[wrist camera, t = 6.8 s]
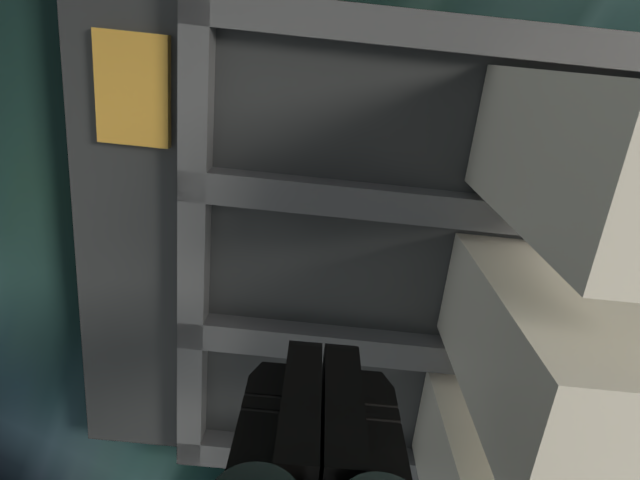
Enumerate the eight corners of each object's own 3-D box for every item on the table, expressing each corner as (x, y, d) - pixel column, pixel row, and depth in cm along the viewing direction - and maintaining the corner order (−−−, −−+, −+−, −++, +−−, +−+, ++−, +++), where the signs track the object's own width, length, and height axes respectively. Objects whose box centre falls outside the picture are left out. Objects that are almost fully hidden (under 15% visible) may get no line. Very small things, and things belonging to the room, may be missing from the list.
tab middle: (587, 246, 16) (799, 409, 8) (560, 338, 17) (727, 550, 10) (455, 232, 15) (558, 385, 8) (437, 326, 17) (514, 530, 10)
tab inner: (635, 79, 14) (948, 110, 7) (601, 194, 15) (840, 322, 8) (487, 64, 14) (649, 79, 7) (464, 180, 15) (582, 297, 8)
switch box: (785, 53, 15) (844, 54, 13) (624, 469, 20) (651, 508, 18) (73, -22, 14) (37, -31, 13) (100, 419, 19) (78, 454, 18)
